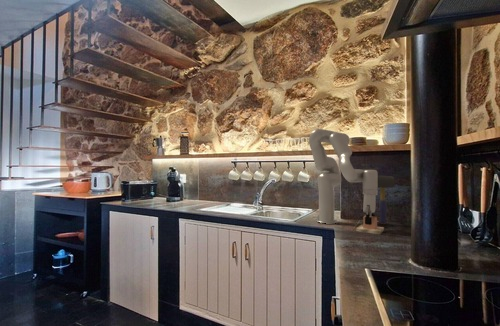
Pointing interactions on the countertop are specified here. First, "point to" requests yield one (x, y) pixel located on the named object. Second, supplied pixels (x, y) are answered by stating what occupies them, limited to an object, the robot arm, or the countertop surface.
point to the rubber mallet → (384, 183)
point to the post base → (370, 230)
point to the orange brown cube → (373, 225)
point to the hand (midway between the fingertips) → (370, 222)
